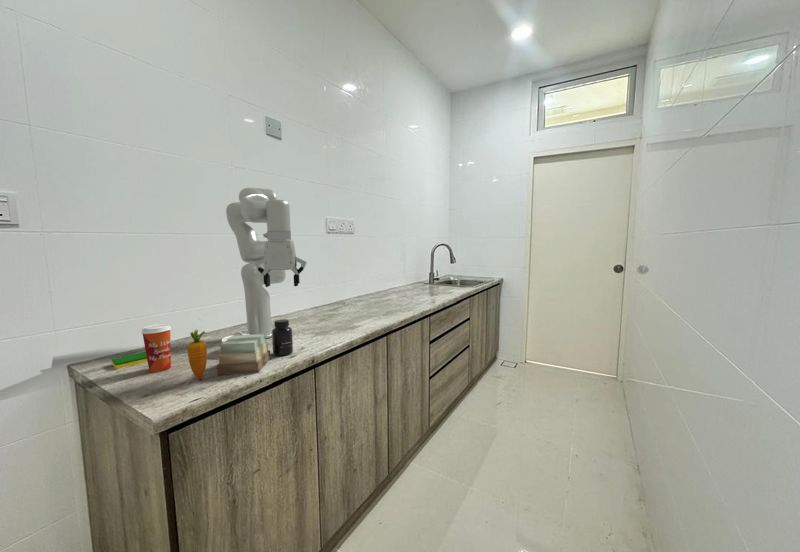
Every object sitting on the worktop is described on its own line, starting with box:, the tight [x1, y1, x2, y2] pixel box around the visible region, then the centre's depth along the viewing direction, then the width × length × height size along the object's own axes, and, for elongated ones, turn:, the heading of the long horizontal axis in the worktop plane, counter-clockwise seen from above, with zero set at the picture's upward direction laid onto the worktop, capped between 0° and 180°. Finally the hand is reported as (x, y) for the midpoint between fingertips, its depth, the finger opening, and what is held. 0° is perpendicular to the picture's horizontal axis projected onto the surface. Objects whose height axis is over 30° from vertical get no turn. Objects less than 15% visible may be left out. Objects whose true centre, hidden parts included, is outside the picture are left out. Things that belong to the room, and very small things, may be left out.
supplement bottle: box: [271, 318, 294, 357], centre depth 116 cm, size 7×7×12 cm
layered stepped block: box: [216, 334, 271, 376], centre depth 104 cm, size 12×12×9 cm
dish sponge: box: [111, 351, 148, 370], centre depth 112 cm, size 7×14×2 cm, turn 140°
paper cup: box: [140, 323, 172, 373], centre depth 103 cm, size 8×8×14 cm
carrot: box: [186, 329, 208, 381], centre depth 94 cm, size 5×5×15 cm
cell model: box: [221, 331, 250, 344], centre depth 120 cm, size 10×12×7 cm
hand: (282, 286), depth 113 cm, fingers open, 9 cm apart
